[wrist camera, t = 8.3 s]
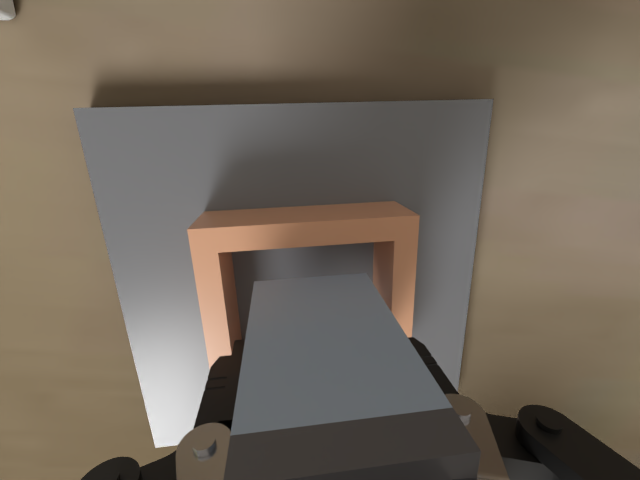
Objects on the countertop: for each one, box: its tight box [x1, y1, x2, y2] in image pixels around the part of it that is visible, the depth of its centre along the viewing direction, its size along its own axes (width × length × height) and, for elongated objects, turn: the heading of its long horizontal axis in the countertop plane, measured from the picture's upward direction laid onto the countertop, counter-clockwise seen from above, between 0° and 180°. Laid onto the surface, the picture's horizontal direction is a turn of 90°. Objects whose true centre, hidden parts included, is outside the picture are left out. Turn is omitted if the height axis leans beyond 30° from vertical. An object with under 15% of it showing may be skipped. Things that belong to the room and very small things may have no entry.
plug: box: [223, 273, 481, 480], centre depth 10 cm, size 4×4×8 cm
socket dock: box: [73, 99, 493, 448], centre depth 16 cm, size 18×18×4 cm
